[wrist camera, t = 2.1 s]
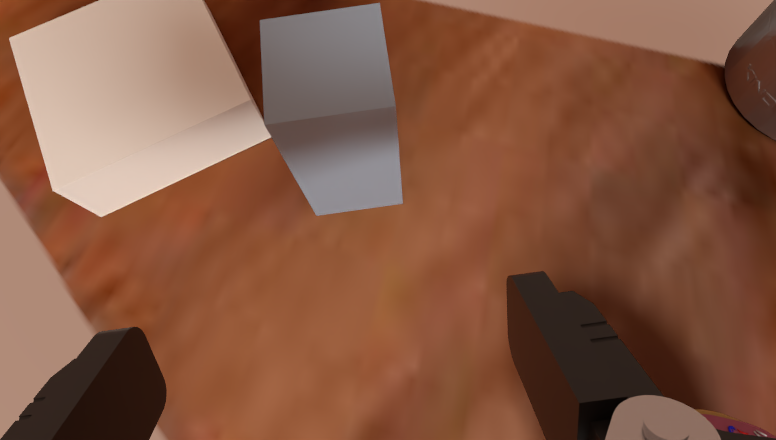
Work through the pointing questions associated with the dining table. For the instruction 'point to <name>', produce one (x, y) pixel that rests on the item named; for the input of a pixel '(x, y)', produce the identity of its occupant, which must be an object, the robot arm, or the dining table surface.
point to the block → (333, 106)
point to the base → (133, 98)
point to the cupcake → (732, 424)
